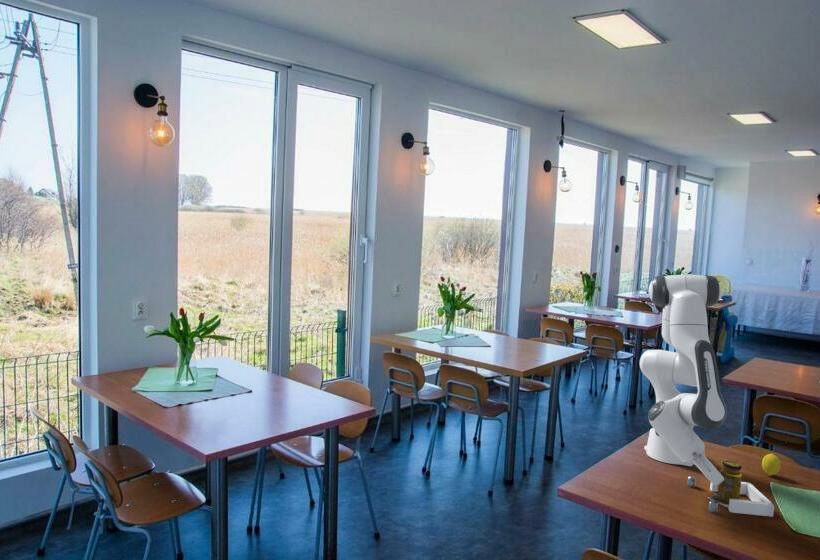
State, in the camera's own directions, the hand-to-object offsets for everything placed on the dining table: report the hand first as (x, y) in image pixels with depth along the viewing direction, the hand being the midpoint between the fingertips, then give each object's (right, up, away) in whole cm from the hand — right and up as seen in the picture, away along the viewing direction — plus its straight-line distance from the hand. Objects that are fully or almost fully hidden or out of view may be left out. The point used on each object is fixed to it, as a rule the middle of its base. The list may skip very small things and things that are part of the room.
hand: (718, 481), depth 187 cm
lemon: (+30, -6, +23) cm, 38 cm away
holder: (+7, -6, 0) cm, 9 cm away
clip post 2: (-6, -6, -8) cm, 12 cm away
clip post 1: (-4, -5, +10) cm, 12 cm away
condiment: (+2, -6, 0) cm, 7 cm away
